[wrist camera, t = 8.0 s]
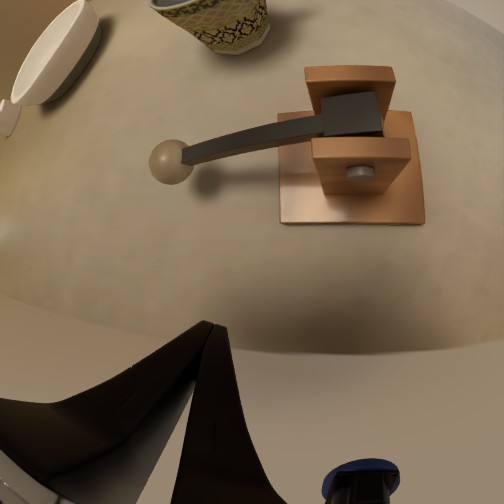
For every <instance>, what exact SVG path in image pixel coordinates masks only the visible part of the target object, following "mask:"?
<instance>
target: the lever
mask: <svg viewBox="0 0 504 504" xmlns="http://www.w3.org/2000/svg"><path fill="white" fill-rule="evenodd" d="M321 107H322V114H319V115H313V116H307V117H301V118H296V119H291V120H286V121H281V122H277V123H272V124H268V125H263V126H259V127H255V128H251V129H247V130H243V131H239V132H235V133H232V134H228V135H225V136H221V137H218V138H214V139H211V140H208V141H204V142H201V143H198V144H195V145H192V146H188V145H187V144H186V143H184V142H182V141H179V140H166V141H164V142H161V143H160V144H158V145H157V146H156V147H155V148H154V150H153V151H152V153H151V155H150V159H149V168H150V171H151V173H152V175H153V176H154V178H155V179H156V180H158V181H159V182H161V183H164V184H168V185H174V184H178V183H180V182H182V181H184V180H185V179H187V178H188V176H189V175H190V174H191V172H192V170H193V168H194V165H196V164H200V163H204V162H208V161H212V160H216V159H220V158H225V157H229V156H233V155H238V154H243V153H247V152H252V151H257V150H262V149H267V148H273V147H278V146H284V145H290V144H296V143H303V142H310V141H311V138H323V137H386V136H385V130H384V124H383V118H382V113H381V109H380V105H379V102H378V98H377V95H376V92H375V91H369V92H360V93H352V94H344V95H337V96H331V97H325V98H321Z"/></svg>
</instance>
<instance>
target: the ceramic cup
mask: <svg viewBox="0 0 504 504" xmlns="http://www.w3.org/2000/svg"><path fill="white" fill-rule="evenodd" d="M148 2H149V5H150V7H151V8H152V9H154V10H155V11H157V12H158V13H159V14H161V15H162V16H164V17H165V18H167V19H168V20H170V21H171V22H173V23H174V24H176V25H178V26H179V27H181V28H183V29H185V30H186V31H188V32H189V33H190V34H192V35H193V36H194V37H196V38H197V39H199V40H200V41H201V42H203V43H204V44H205V45H207V46H208V47H209V48H210V49H212V50H213V51H214V52H215V53H218V54H232V55H239V54H242V53H244V52H246V51H248V50H250V49H252V48H254V47H257V46H259V45H261V44H262V42H263V41H264V39H265V37H266V35H267V34H268V32H269V30H270V23H269V18H268V12H267V6H266V0H149V1H148Z"/></svg>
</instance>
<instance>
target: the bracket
mask: <svg viewBox="0 0 504 504" xmlns="http://www.w3.org/2000/svg"><path fill="white" fill-rule="evenodd" d="M304 71H305V80H306V84H307V88H308V92H309V95H310V99H311V103H312V107H313V111H302V112H290V113H279V114H278V122H281V121H286V120H291V119H296V118H301V117H307V116H313V115H319V114H322V107H321V98H325V97H331V96H337V95H344V94H352V93H360V92H369V91H375V92H376V95H377V98H378V102H379V105H380V109H381V113H382V118H383V124H384V130H385V136H386V137H323V138H311V141H310V142H303V143H296V144H290V145H284V146H279V190H280V223H282V224H408V225H421V224H425V209H424V195H423V183H422V174H421V166H420V158H419V152H418V145H417V140H416V134H415V129H414V124H413V119H412V114H411V112H408V111H394V110H388V108H389V105H390V101H391V98H392V94H393V90H394V87H395V83H396V80H395V76H394V73H393V69H392V67H387V66H362V65H344V66H318V67H306V68H305V69H304Z"/></svg>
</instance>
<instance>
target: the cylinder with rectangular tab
mask: <svg viewBox="0 0 504 504" xmlns="http://www.w3.org/2000/svg"><path fill="white" fill-rule="evenodd" d="M20 111H21V105H17V104H13V103H12V101H8V100H5V99H3V100H2V102H1V103H0V135H5V136H10V134H11V133H12V131H13V129H14V127H15V125H16V123H17V120H18V117H19V114H20Z"/></svg>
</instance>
